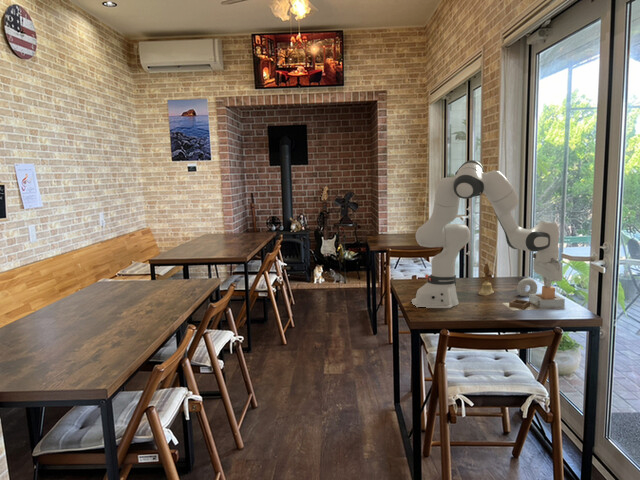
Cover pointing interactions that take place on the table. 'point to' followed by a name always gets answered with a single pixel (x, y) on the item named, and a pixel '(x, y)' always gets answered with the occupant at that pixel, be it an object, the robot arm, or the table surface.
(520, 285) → the donut
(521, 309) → the board
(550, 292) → the peg
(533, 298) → the socket block
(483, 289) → the hand bell
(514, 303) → the peg holder
